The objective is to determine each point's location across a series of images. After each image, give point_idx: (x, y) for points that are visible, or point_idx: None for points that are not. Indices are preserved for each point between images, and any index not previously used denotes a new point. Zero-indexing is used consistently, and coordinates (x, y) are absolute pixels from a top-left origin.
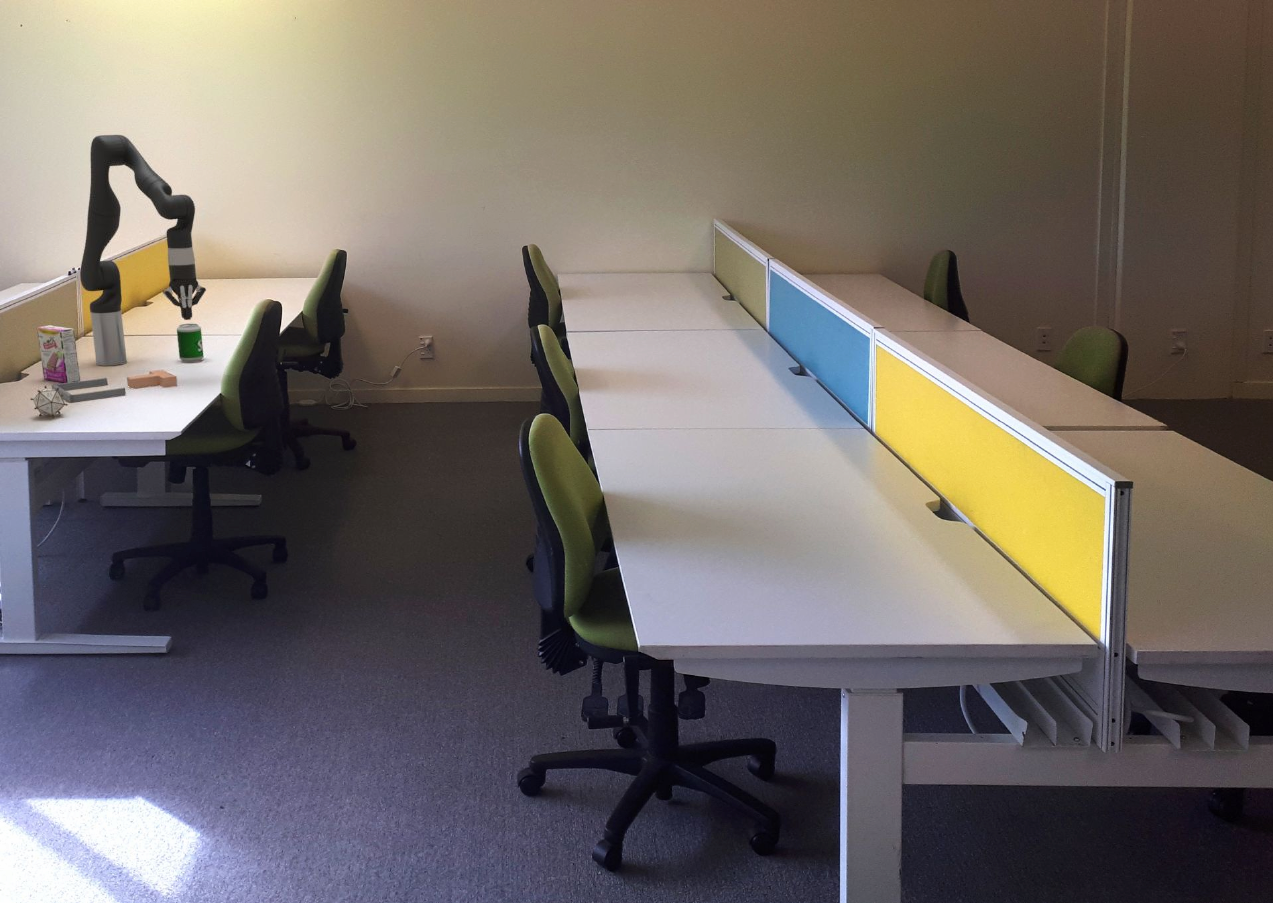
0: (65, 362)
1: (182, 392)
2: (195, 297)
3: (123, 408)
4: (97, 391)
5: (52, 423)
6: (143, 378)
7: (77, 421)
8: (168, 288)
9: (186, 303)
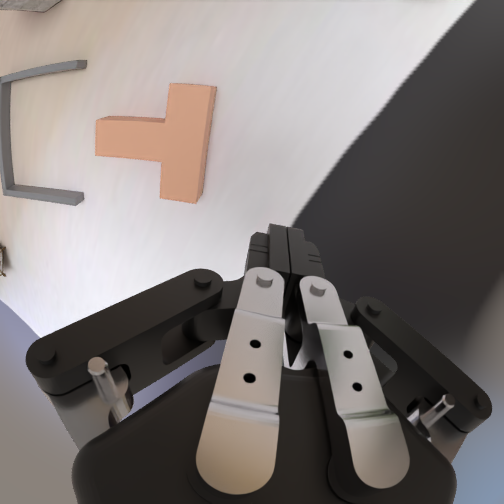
0: (12, 9)
1: (181, 261)
2: (399, 350)
3: (69, 285)
4: (35, 195)
5: (5, 283)
6: (124, 157)
7: (25, 297)
8: (76, 438)
9: (299, 313)
